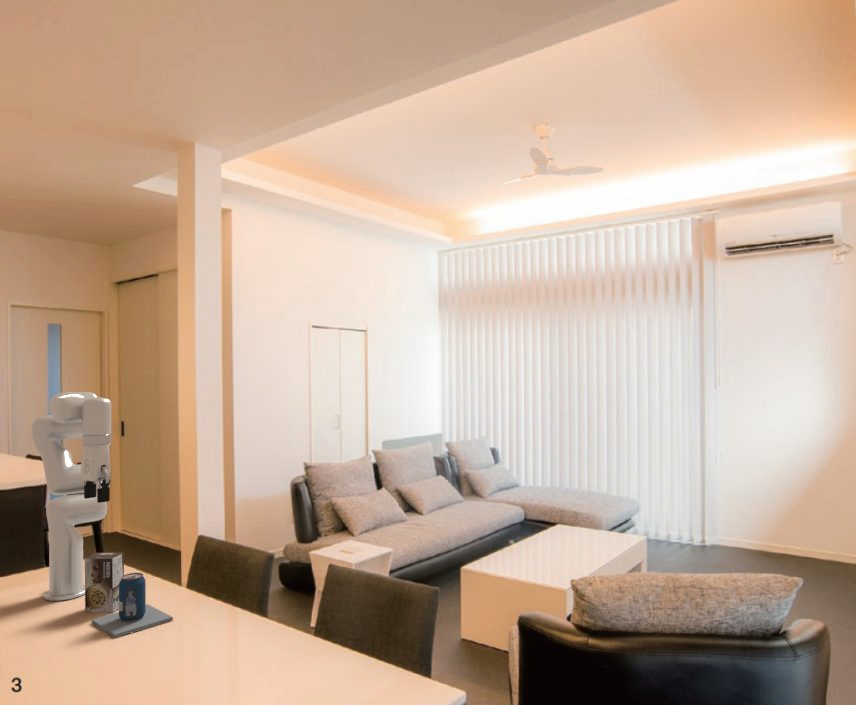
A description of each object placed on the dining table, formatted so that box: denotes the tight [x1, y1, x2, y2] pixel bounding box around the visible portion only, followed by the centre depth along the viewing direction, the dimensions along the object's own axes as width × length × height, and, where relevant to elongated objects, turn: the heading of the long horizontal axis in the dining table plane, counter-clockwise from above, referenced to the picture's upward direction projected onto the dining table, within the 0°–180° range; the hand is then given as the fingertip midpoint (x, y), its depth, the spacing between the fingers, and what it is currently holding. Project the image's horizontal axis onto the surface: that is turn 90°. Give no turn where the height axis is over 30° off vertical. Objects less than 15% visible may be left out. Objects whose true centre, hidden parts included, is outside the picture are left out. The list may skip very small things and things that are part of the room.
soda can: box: [118, 572, 147, 622], centre depth 183 cm, size 7×7×12 cm
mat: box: [91, 603, 174, 638], centre depth 183 cm, size 16×16×1 cm
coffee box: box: [84, 552, 125, 613], centre depth 194 cm, size 9×6×16 cm
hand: (96, 499), depth 186 cm, fingers open, 9 cm apart
